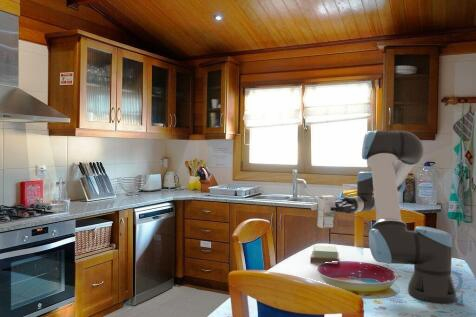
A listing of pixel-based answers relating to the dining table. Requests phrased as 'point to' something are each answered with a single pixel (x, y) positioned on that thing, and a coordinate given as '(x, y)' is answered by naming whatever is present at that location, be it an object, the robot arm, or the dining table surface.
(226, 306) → the dining table surface
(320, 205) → the syrup box
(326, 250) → the sage slab
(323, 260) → the walnut slab
